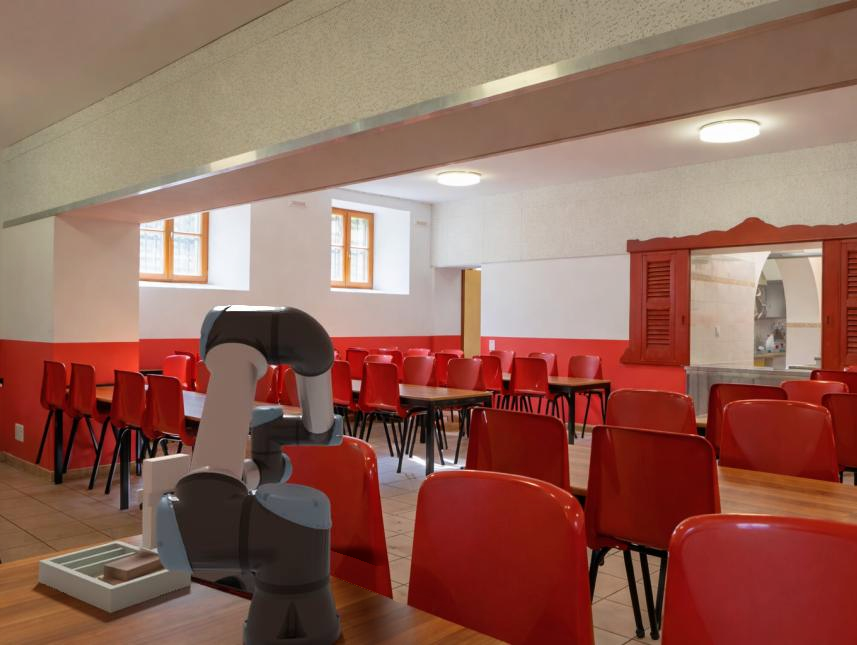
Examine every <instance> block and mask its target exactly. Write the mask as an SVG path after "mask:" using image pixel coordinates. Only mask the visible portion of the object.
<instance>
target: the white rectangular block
mask: <svg viewBox="0 0 857 645" xmlns="http://www.w3.org/2000/svg"><path fill="white" fill-rule="evenodd" d="M189 470H190V454H186V453H185V454H184V453H176V454H169V455H164V456H163V455H162V456H157V457H152V458H146V459H143V461H142V489H143V503H142V525H141V526H142V529H141V530H142V531H141V534H142V535H141V536H142V539H141V540H142V541H141V542H142V544H141V548H143V549H146V550H149V551H151V550H152V551H153V550H155V549H157V545H156V529H155V526H156V511H157V505H154V506H150V507H148V506H147V493H148V492H153V491H158V490H163V489H167V488H172V487H176V484H177V482H178V480H179V479H180V478H181V477H183V476H184V475H186V474H188V473H189Z"/></svg>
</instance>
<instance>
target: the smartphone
mask: <svg viewBox="0 0 857 645" xmlns="http://www.w3.org/2000/svg"><path fill="white" fill-rule="evenodd" d="M191 582H193V583H196V582H197V584H199V583H201V584H200V585H203V584H204V585H203V586H206V585H207V587H210V586H211V588H213V587H215V588H214V589H217V588H218V589H217V590H220V589H221V590H220V591H224V592H227V591H228V593H231V594H234V593H235V595H238V596H241V597H245V598H247V597H248V599H251V600H252V597H253V594H254V591H255V572H254V571H238V572H194V573H193V574H191Z"/></svg>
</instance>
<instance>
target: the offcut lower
mask: <svg viewBox="0 0 857 645" xmlns="http://www.w3.org/2000/svg"><path fill="white" fill-rule="evenodd" d="M162 570H165V568H163V569H160V570H158V571H155V572H152V573H150V574H153V573H156V572H159V571H162ZM147 575H149V574H147ZM144 576H146V575H144ZM142 577H143V576H142ZM139 578H140V577H139ZM98 580H100V581H103V582H105V583H108V584H110V585H113V586H114V585H117V584H120V583H124V582H125V581H121V580H117V579H113V578H109V577H105V576H104V575H101V576H98Z"/></svg>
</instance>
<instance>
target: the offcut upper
mask: <svg viewBox="0 0 857 645" xmlns="http://www.w3.org/2000/svg"><path fill="white" fill-rule="evenodd" d="M155 553H156V552H155ZM155 553H150V552H146V551H144V552H141V553H138V554H135V555H132V556H129V557H126V558H123V559H120V560H117V561H114V562H111V563H108V564H106V565H104V576H105V577H109V578H113V579H117V580H121V581H125V582H127V581H130V580H133V579H136V578H139V577H142V576H144V575H147V574H150V573H152V572H155V571H158V570H160V569H163V568H164V567H163V565H162V564H161V562H160V559H159V556H158V554H155Z"/></svg>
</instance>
